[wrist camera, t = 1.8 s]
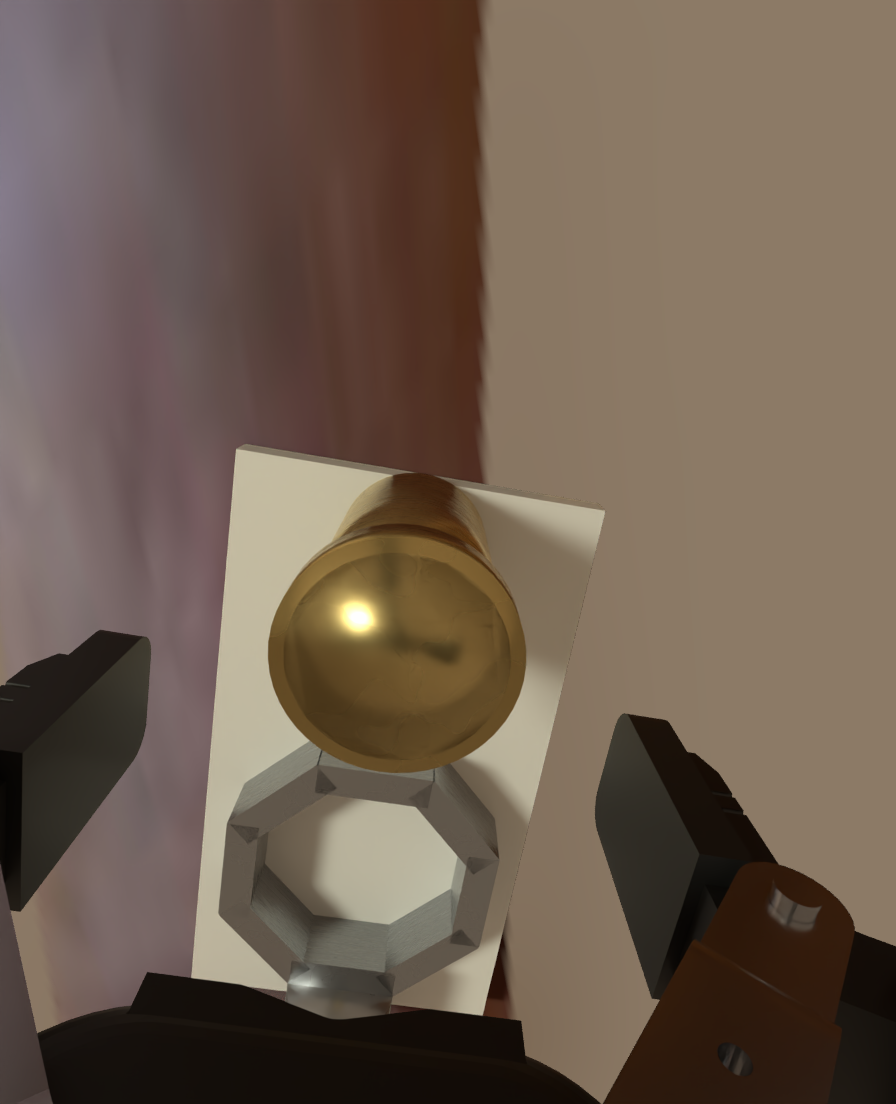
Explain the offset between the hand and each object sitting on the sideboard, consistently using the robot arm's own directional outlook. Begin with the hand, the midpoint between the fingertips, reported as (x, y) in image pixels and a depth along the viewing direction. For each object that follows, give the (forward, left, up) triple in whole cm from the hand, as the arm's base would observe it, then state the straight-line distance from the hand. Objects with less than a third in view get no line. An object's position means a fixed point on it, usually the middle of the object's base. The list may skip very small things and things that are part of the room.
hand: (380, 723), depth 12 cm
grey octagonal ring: (+12, 0, -10) cm, 16 cm away
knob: (0, 0, -10) cm, 10 cm away
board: (+8, 0, -11) cm, 13 cm away
